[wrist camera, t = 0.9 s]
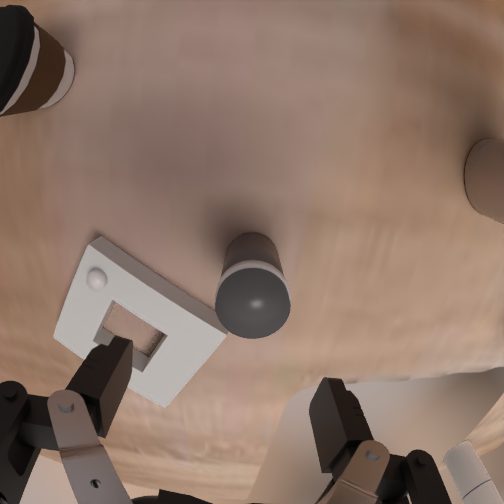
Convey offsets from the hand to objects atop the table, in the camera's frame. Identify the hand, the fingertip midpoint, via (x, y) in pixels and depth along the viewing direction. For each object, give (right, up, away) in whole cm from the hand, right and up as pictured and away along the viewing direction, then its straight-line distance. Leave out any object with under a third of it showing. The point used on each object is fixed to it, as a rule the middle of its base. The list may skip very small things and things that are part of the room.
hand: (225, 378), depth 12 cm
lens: (+1, +5, +18) cm, 19 cm away
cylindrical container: (+46, -38, +33) cm, 68 cm away
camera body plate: (-12, -3, +20) cm, 24 cm away
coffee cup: (-20, +24, +12) cm, 33 cm away
